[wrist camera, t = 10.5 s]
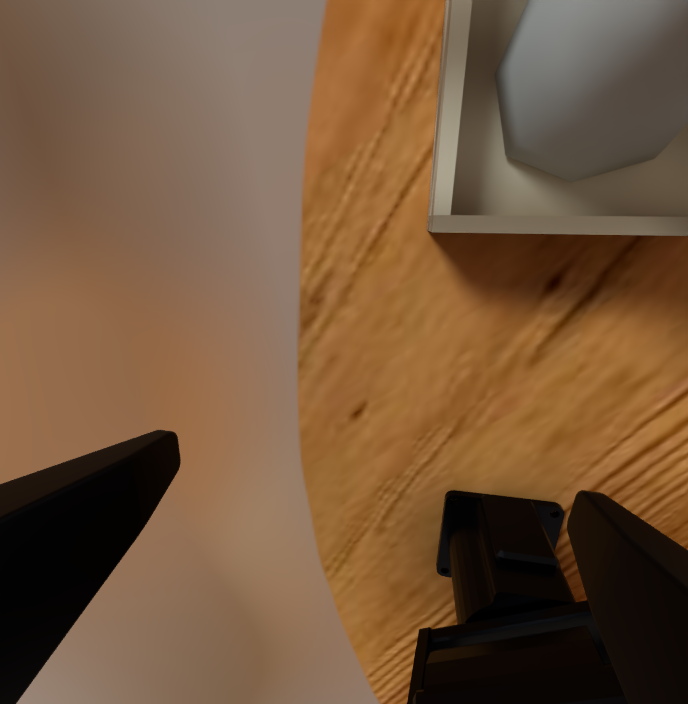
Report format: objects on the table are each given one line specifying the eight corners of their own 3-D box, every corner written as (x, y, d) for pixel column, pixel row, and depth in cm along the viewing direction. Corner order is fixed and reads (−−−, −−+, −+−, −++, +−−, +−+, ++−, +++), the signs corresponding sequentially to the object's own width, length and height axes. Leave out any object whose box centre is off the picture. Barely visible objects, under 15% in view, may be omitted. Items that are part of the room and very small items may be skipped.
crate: (694, 233, 16) (784, 237, 12) (426, 230, 17) (431, 232, 14) (811, -133, 12) (999, -297, 8) (453, -91, 13) (470, -210, 10)
